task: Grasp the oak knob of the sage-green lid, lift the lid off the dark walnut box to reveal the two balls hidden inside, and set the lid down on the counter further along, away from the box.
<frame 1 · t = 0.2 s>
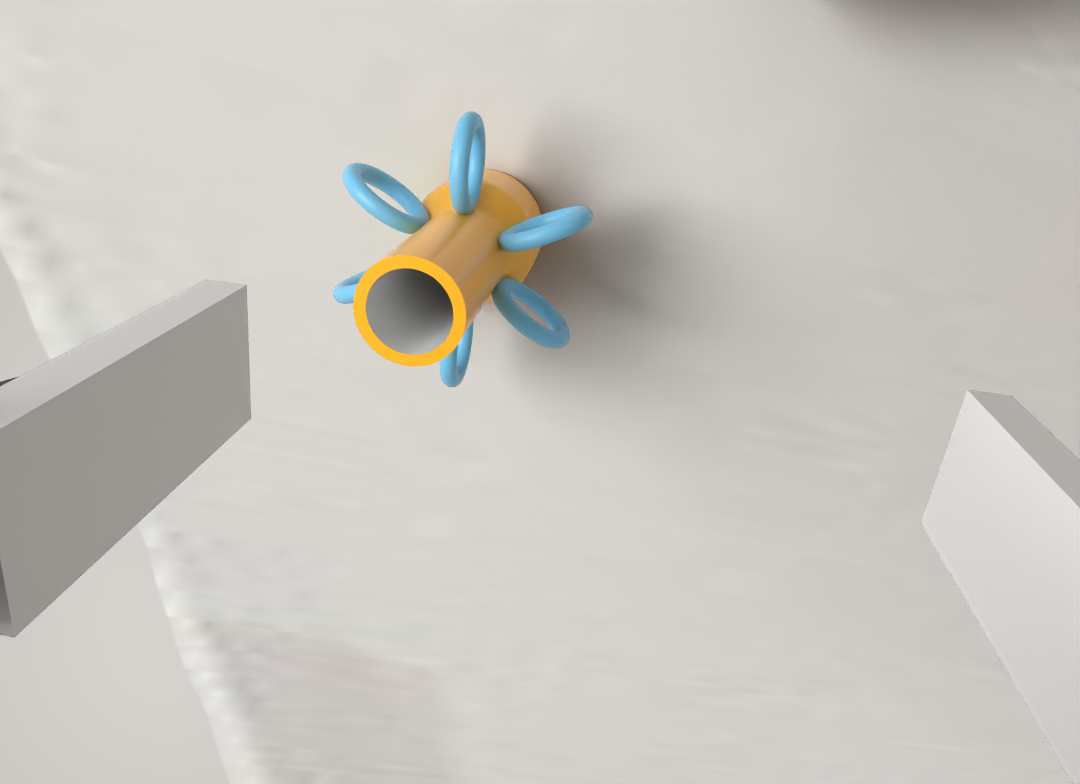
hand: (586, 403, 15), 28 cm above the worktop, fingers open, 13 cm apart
cylinder: (488, 226, 42), on the worktop
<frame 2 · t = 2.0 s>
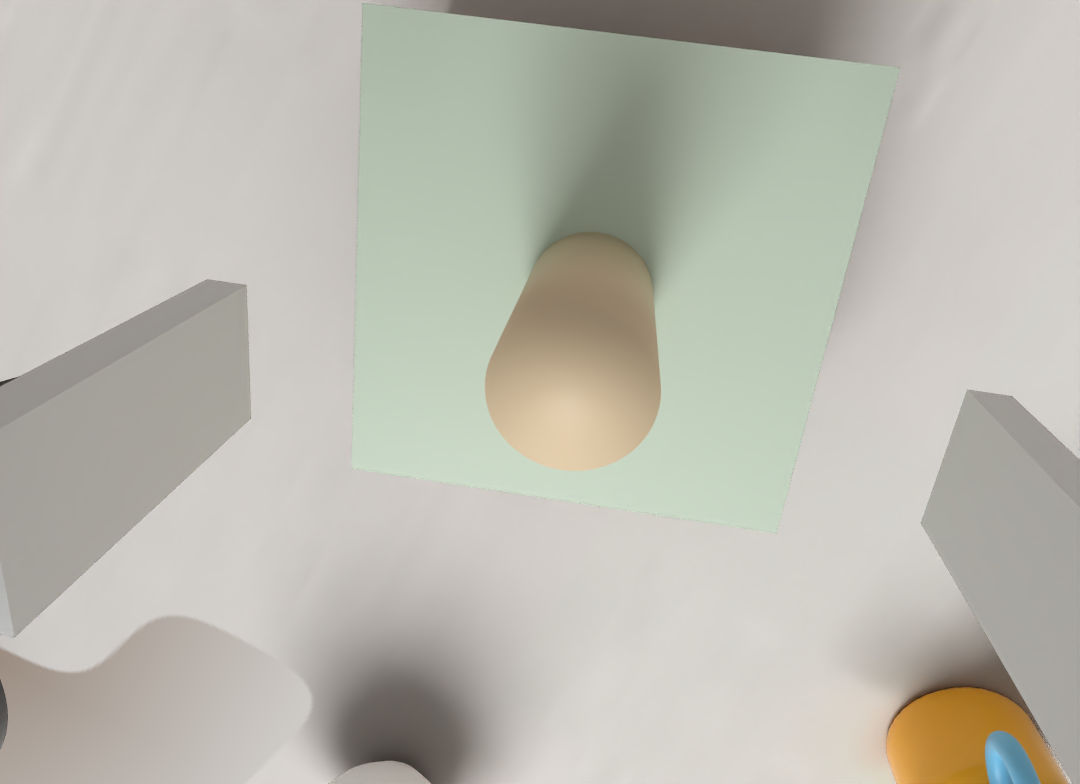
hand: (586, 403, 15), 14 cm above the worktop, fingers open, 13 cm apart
sauce bottle: (398, 775, 39), on the worktop
lid: (592, 283, 23), point 5 cm above the worktop, touching box
cylinder: (954, 733, 35), on the worktop
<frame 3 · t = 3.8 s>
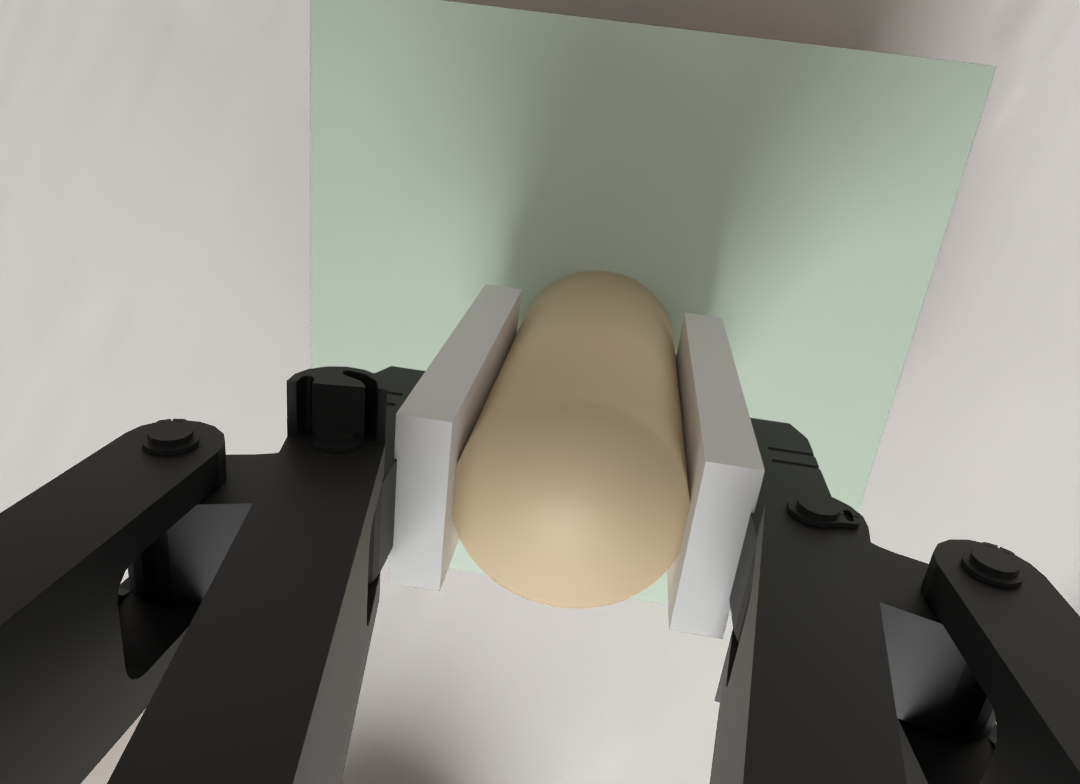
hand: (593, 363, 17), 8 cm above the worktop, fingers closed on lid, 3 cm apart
lid: (599, 329, 19), point 5 cm above the worktop, touching box, gripper
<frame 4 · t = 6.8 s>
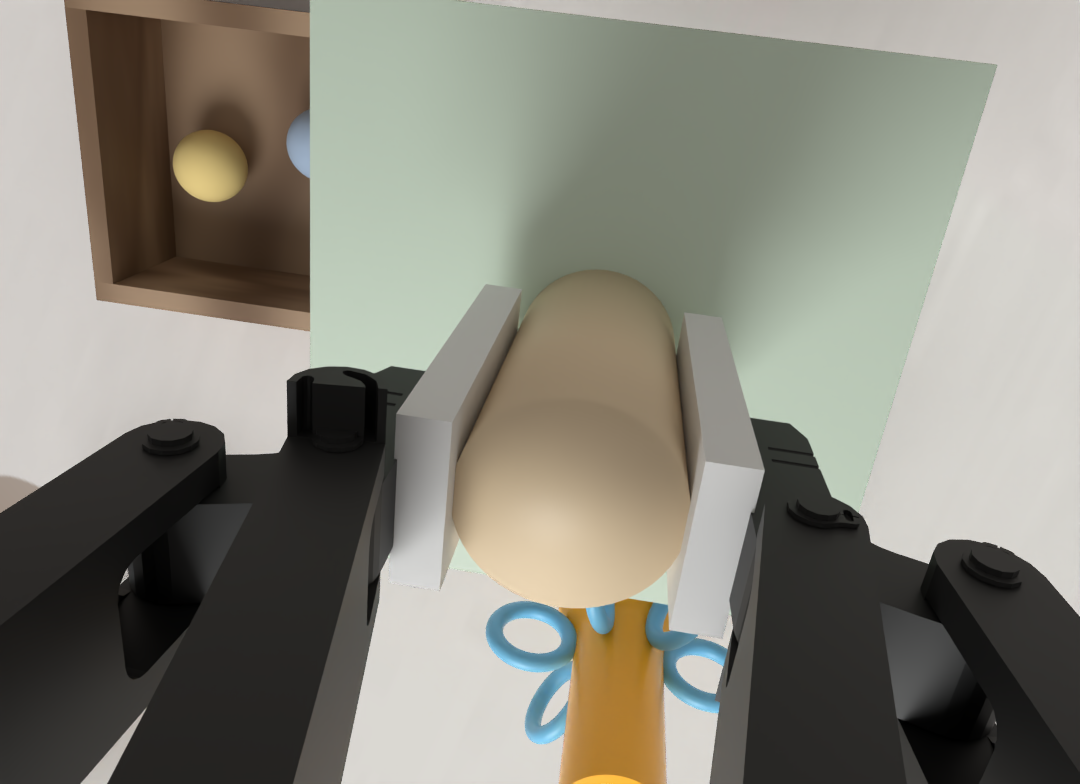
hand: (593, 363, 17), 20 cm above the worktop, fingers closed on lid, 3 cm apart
ball b: (323, 145, 34), point 2 cm above the worktop, touching box
box: (285, 156, 37), on the worktop
ball a: (211, 166, 35), point 2 cm above the worktop, touching box
sauce bottle: (194, 615, 48), on the worktop
lid: (599, 328, 19), point 18 cm above the worktop, touching gripper
cylinder: (621, 568, 43), on the worktop
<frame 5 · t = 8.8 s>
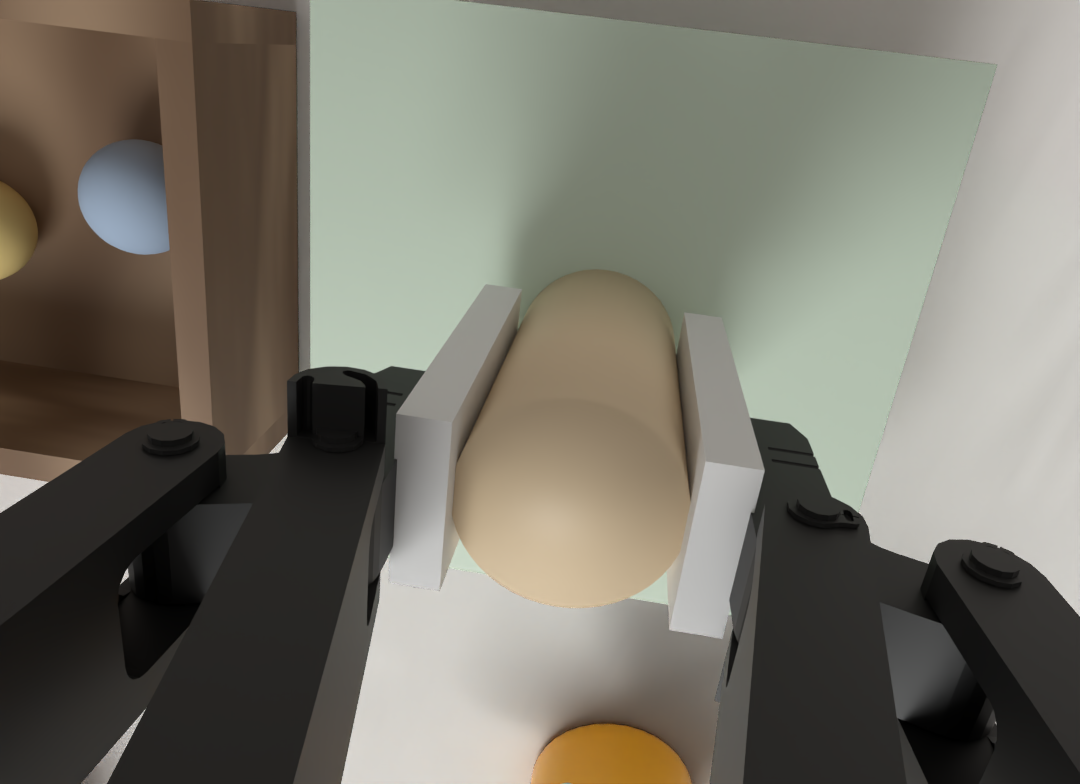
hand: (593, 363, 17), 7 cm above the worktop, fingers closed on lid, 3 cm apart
ball b: (141, 197, 22), point 2 cm above the worktop, touching box
box: (102, 209, 24), on the worktop
lid: (599, 328, 19), point 5 cm above the worktop, touching gripper
cylinder: (610, 775, 31), on the worktop
when the fingers open (4 cm above the worktop, at t = 10.2 s): lid drops 2 cm, on the worktop.
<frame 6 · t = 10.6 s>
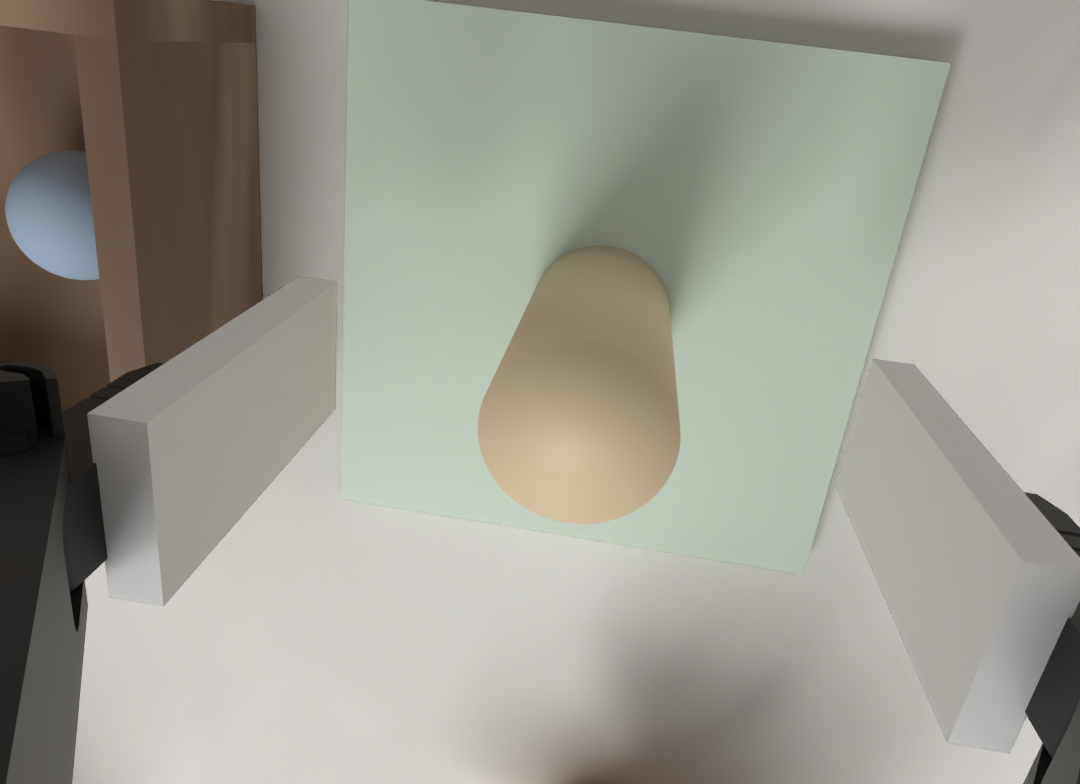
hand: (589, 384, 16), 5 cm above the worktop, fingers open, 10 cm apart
ball b: (81, 216, 19), point 2 cm above the worktop, touching box
box: (43, 227, 22), on the worktop
lid: (602, 300, 21), on the worktop
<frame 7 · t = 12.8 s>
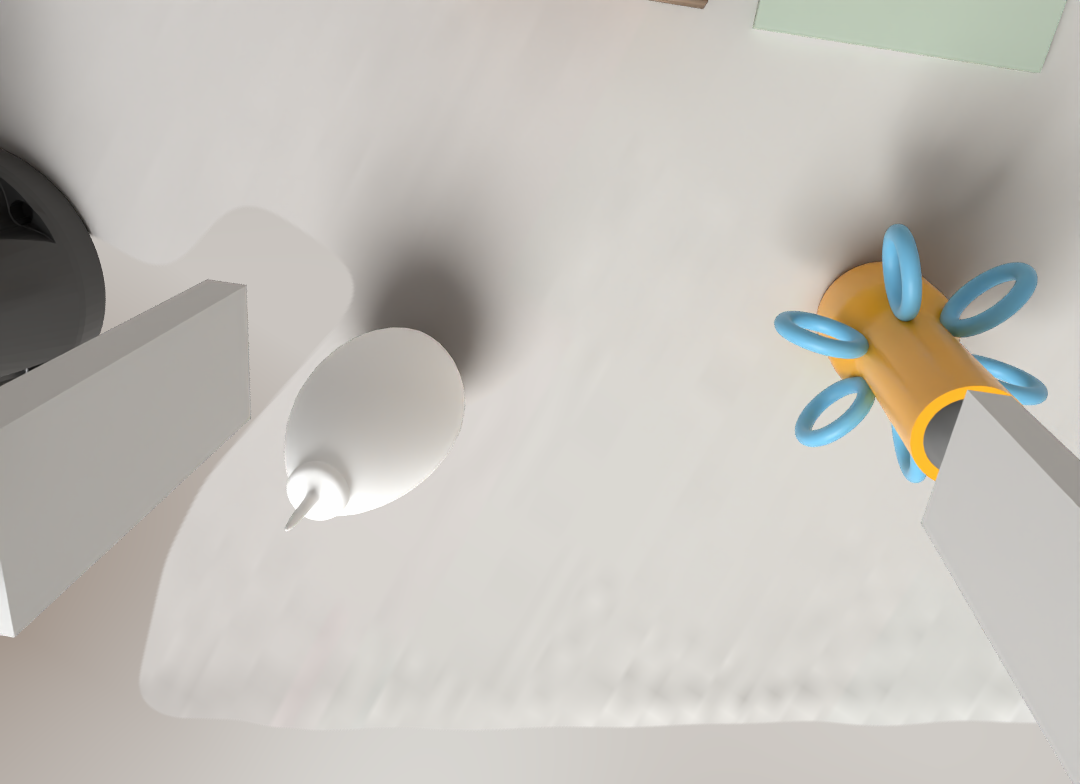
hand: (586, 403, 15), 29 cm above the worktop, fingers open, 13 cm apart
sauce bottle: (419, 366, 48), on the worktop
cylinder: (872, 313, 43), on the worktop
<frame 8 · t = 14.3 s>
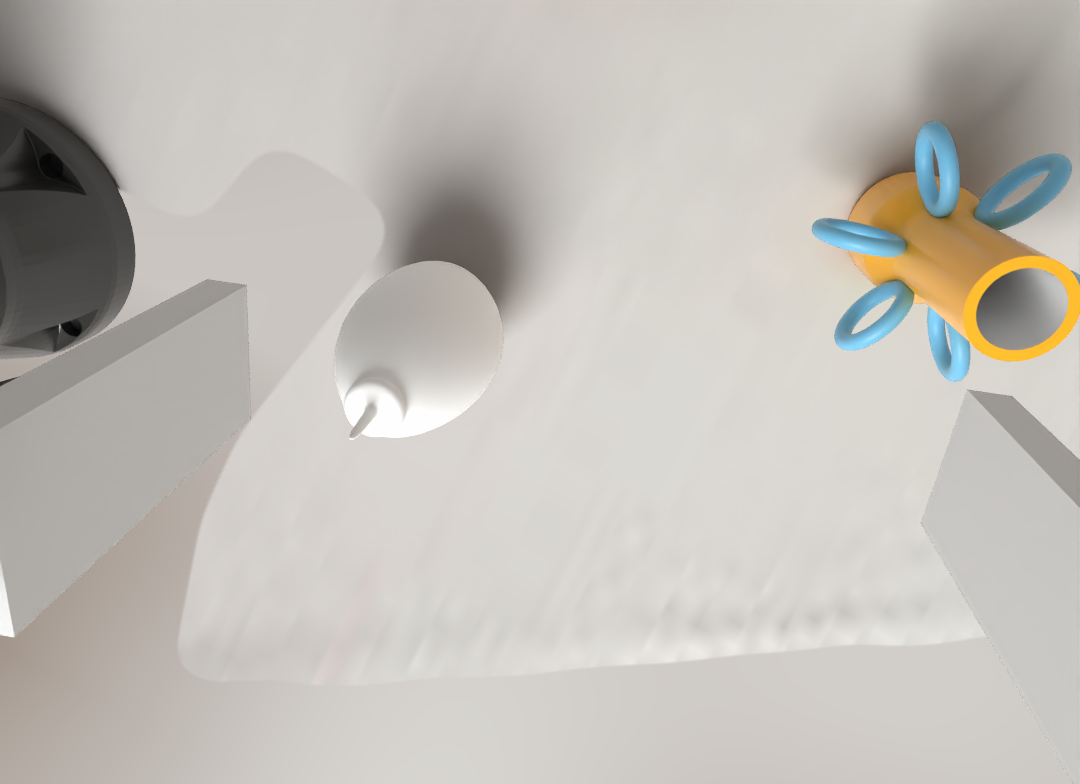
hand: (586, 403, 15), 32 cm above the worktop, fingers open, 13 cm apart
sauce bottle: (452, 305, 48), on the worktop
cylinder: (901, 226, 44), on the worktop
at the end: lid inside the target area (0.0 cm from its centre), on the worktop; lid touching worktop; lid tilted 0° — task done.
